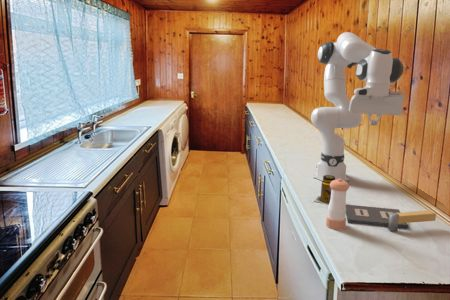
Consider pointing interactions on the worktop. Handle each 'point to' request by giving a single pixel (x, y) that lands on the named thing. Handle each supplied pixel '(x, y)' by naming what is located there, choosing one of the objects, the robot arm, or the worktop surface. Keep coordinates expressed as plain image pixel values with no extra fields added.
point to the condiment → (325, 190)
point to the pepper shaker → (337, 205)
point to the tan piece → (410, 218)
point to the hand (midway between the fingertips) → (373, 125)
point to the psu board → (371, 215)
